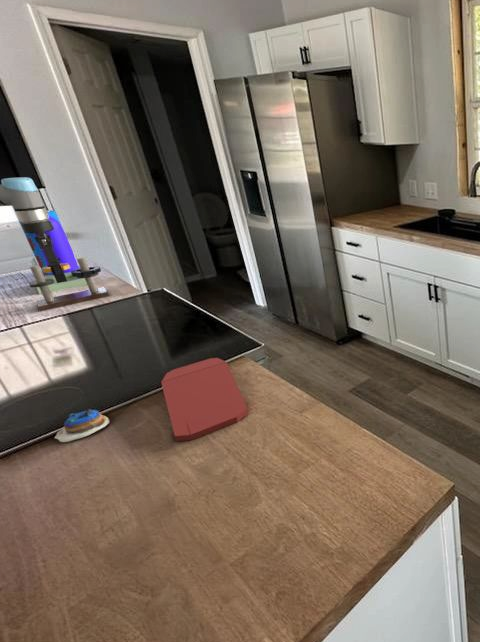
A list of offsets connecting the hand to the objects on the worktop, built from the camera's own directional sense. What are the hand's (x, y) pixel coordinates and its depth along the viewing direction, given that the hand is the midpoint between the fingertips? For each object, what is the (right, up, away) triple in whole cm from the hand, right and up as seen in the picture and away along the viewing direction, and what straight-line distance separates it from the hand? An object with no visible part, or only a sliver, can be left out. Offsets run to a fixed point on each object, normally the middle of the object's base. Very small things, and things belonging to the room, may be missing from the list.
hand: (61, 279), depth 158 cm
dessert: (+89, -32, -76) cm, 121 cm away
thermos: (-18, +4, +17) cm, 25 cm away
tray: (0, -2, +1) cm, 2 cm away
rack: (+21, -8, -14) cm, 27 cm away
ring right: (+24, +2, -14) cm, 28 cm away
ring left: (0, +4, -1) cm, 4 cm away
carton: (+107, -28, -68) cm, 130 cm away
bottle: (-9, +2, +11) cm, 14 cm away
